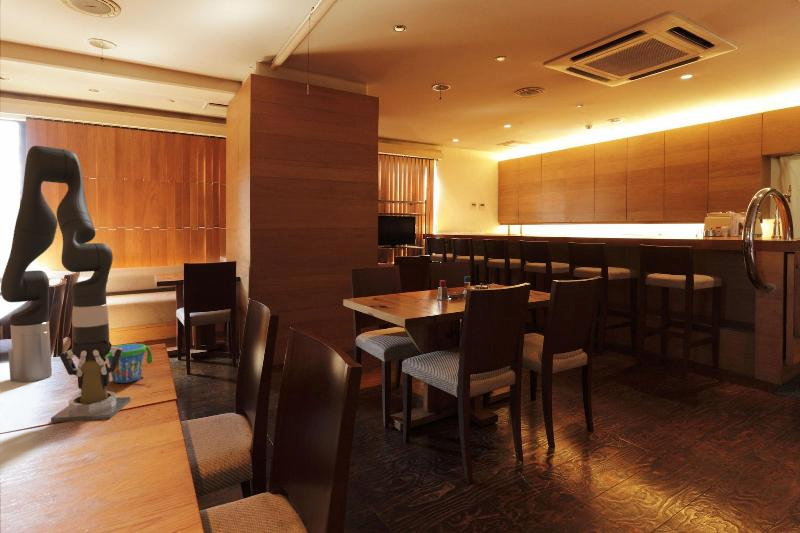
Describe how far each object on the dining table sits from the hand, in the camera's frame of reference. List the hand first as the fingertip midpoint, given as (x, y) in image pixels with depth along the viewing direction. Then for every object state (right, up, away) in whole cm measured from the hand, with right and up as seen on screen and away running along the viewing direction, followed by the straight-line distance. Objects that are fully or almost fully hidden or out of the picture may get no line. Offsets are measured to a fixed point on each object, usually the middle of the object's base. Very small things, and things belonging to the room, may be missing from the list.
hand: (94, 388), depth 117 cm
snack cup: (-6, -4, +24) cm, 25 cm away
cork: (0, -3, 0) cm, 3 cm away
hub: (0, -6, 0) cm, 6 cm away
